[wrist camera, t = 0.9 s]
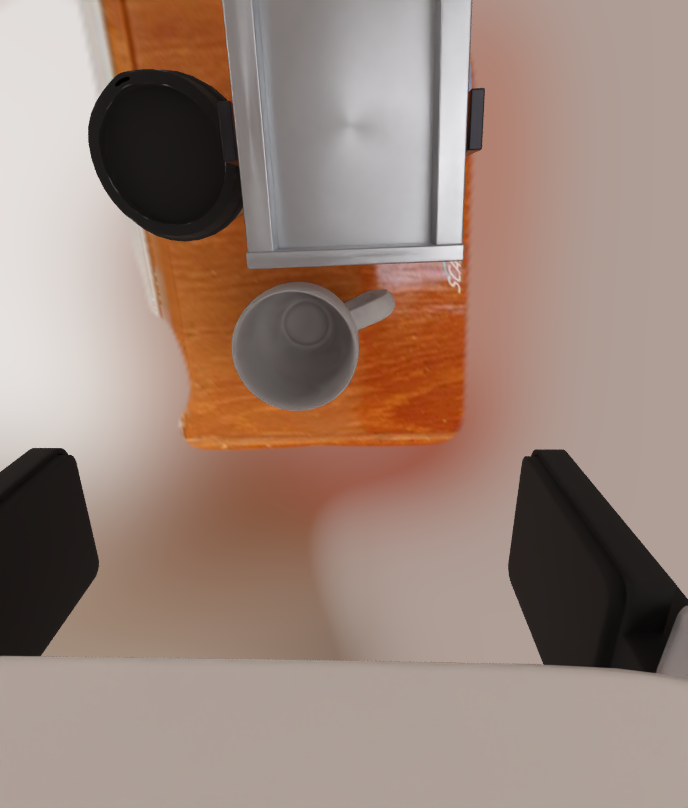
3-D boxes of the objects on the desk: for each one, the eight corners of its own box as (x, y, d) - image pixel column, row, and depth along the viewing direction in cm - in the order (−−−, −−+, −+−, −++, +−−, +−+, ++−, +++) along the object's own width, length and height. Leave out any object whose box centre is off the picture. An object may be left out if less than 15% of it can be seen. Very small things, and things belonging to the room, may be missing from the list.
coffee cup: (252, 91, 38) (191, 24, 24) (301, 204, 41) (272, 202, 27) (155, 143, 39) (43, 108, 25) (209, 248, 42) (135, 269, 28)
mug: (284, 386, 46) (267, 430, 37) (237, 296, 43) (206, 320, 34) (408, 333, 44) (421, 366, 35) (367, 235, 41) (371, 243, 32)
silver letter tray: (228, -27, 17) (213, -55, 16) (465, -41, 17) (478, -71, 15) (257, 263, 21) (247, 269, 19) (454, 256, 21) (463, 260, 19)
